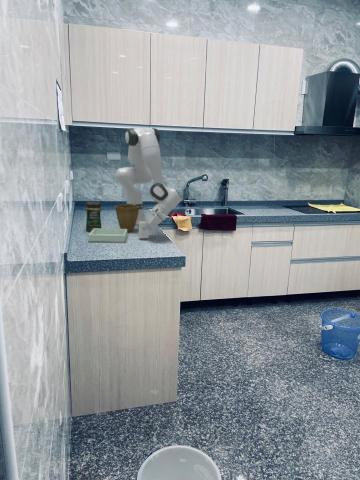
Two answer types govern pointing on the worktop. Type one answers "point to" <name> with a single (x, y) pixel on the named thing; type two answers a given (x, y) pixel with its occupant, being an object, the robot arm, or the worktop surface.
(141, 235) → the cup post
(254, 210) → the worktop surface
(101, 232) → the tray
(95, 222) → the coffee jar
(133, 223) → the plant pot
